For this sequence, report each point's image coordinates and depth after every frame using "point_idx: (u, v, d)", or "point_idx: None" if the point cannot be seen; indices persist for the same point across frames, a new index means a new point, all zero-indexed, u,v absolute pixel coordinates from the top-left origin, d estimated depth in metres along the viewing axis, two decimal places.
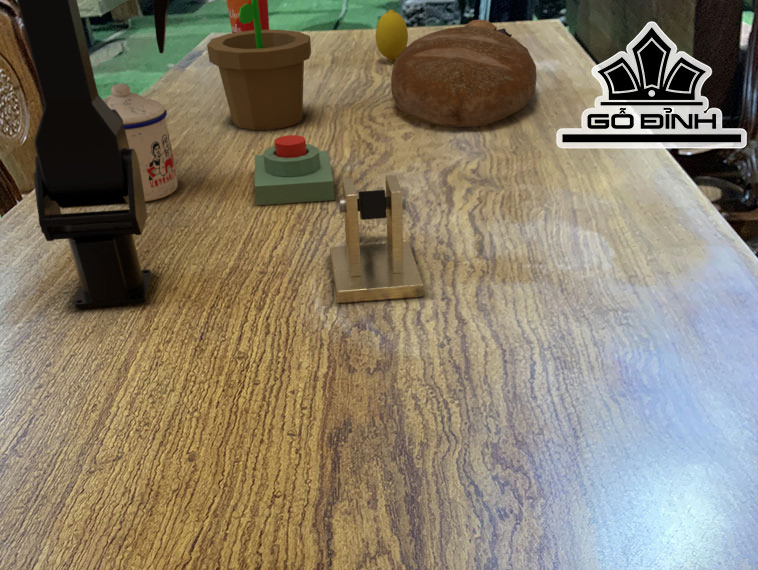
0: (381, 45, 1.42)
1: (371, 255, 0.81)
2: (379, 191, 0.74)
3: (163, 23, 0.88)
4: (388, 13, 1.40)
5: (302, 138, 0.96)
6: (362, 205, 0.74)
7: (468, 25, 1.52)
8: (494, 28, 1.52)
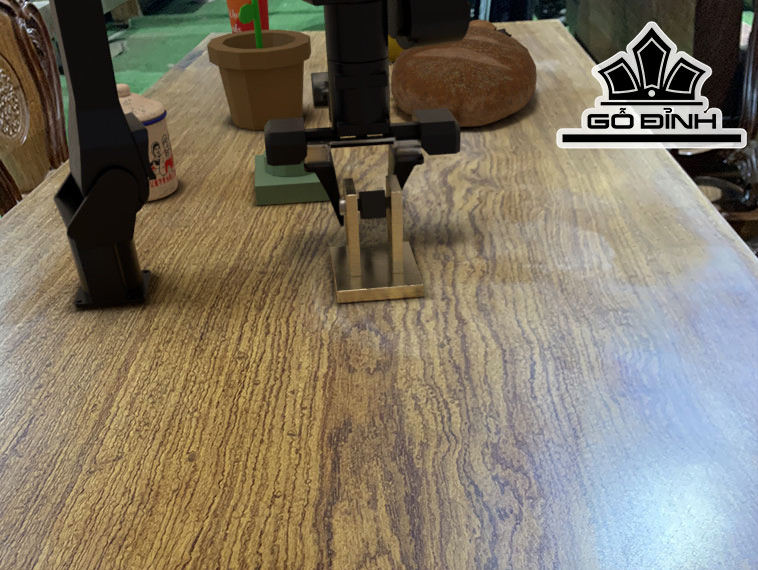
0: None
1: (371, 255, 0.81)
2: (379, 191, 0.74)
3: None
4: None
5: None
6: (362, 205, 0.74)
7: None
8: (494, 28, 1.52)
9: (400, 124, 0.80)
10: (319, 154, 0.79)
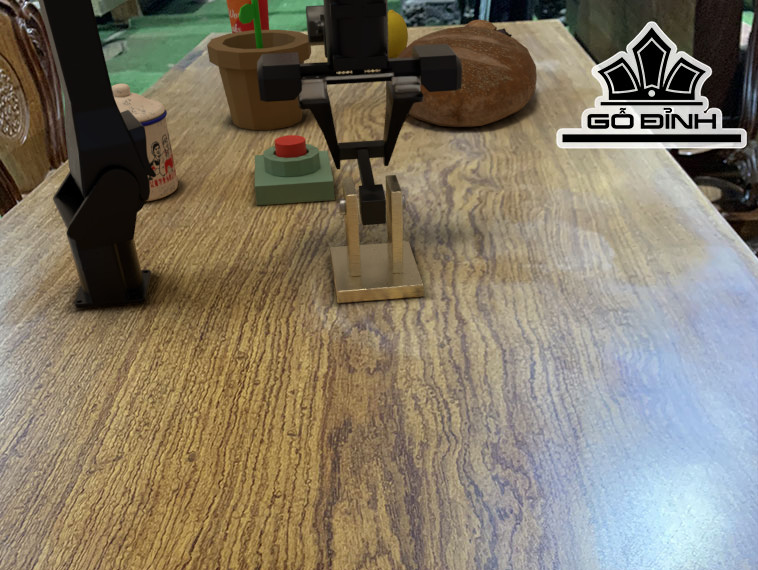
0: None
1: (371, 255, 0.81)
2: (380, 201, 0.74)
3: (396, 137, 0.80)
4: (388, 13, 1.40)
5: (302, 138, 0.96)
6: (362, 213, 0.75)
7: (468, 25, 1.52)
8: (494, 28, 1.52)
9: (399, 59, 0.77)
10: (314, 90, 0.76)
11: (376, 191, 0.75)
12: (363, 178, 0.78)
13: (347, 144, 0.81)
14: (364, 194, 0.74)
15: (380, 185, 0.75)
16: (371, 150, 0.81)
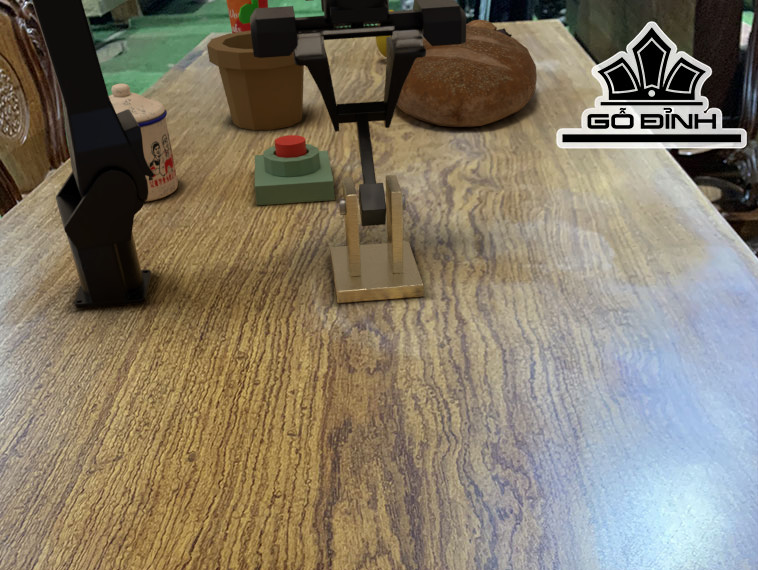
0: (381, 45, 1.42)
1: (371, 255, 0.81)
2: (381, 210, 0.74)
3: (398, 96, 0.76)
4: None
5: (302, 138, 0.96)
6: (362, 218, 0.75)
7: (468, 25, 1.52)
8: (494, 28, 1.52)
9: (400, 12, 0.73)
10: (311, 45, 0.72)
11: (377, 195, 0.74)
12: (363, 165, 0.76)
13: (347, 108, 0.77)
14: (365, 199, 0.74)
15: (381, 185, 0.75)
16: (371, 115, 0.78)
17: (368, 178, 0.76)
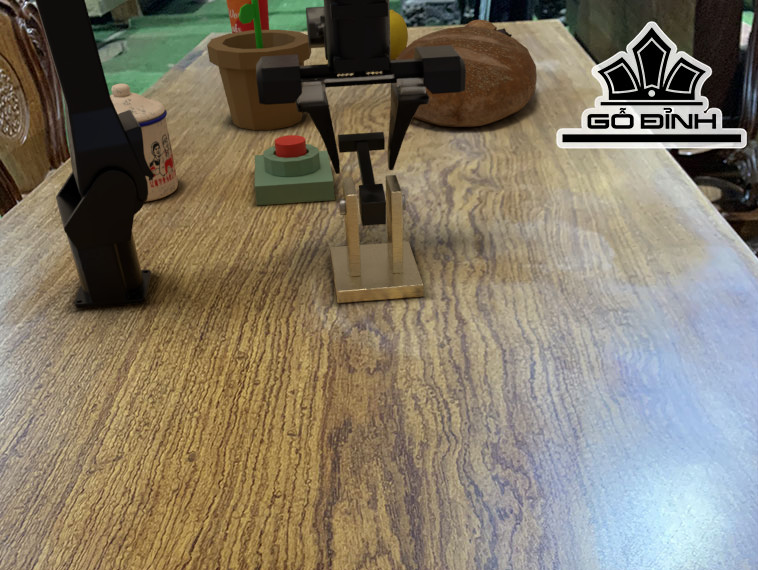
0: None
1: (371, 255, 0.81)
2: (380, 203, 0.74)
3: (401, 140, 0.78)
4: None
5: (302, 138, 0.96)
6: (362, 214, 0.75)
7: (468, 25, 1.52)
8: (494, 28, 1.52)
9: (401, 61, 0.75)
10: (313, 92, 0.74)
11: (376, 192, 0.75)
12: (363, 175, 0.77)
13: (347, 137, 0.81)
14: (364, 195, 0.74)
15: (380, 185, 0.75)
16: (371, 143, 0.81)
17: (368, 184, 0.76)
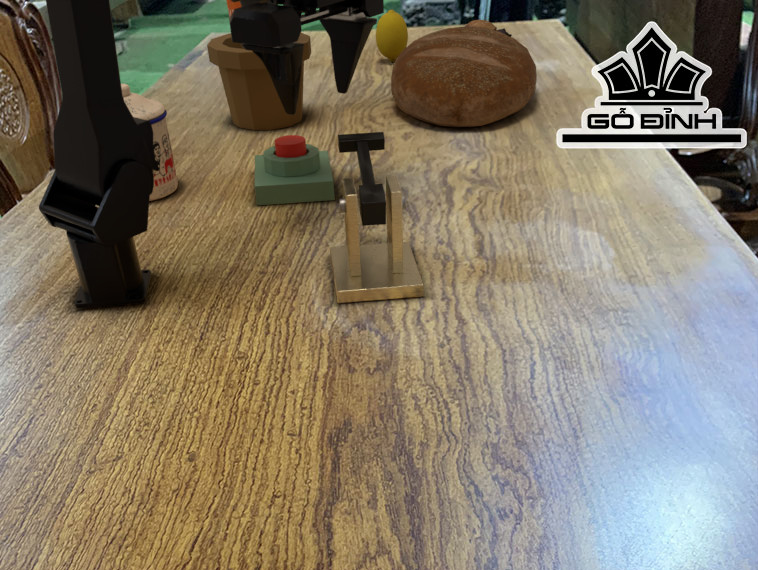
0: (381, 45, 1.42)
1: (371, 255, 0.81)
2: (380, 203, 0.74)
3: (357, 62, 0.90)
4: (388, 13, 1.40)
5: (302, 138, 0.96)
6: (362, 214, 0.75)
7: (468, 25, 1.52)
8: (494, 28, 1.52)
9: None
10: None
11: (376, 192, 0.75)
12: (363, 175, 0.77)
13: (347, 137, 0.81)
14: (364, 195, 0.74)
15: (380, 185, 0.75)
16: (371, 143, 0.81)
17: (368, 184, 0.76)
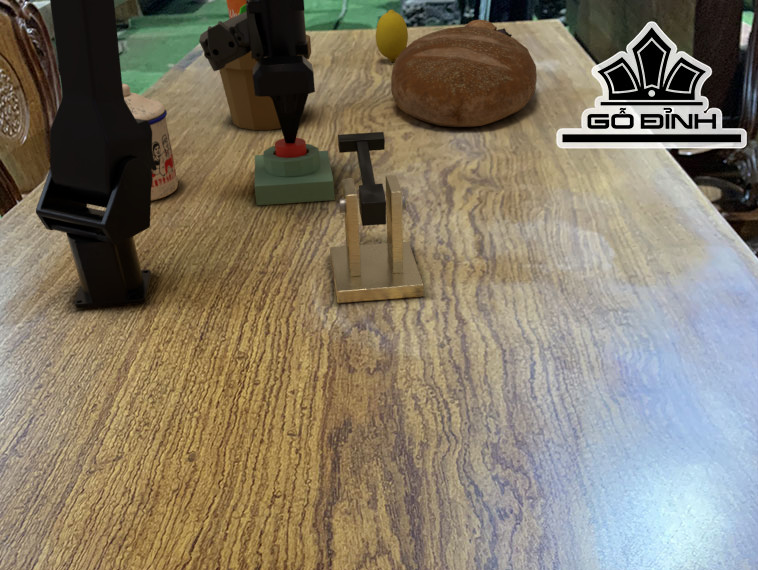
0: (381, 45, 1.42)
1: (371, 255, 0.81)
2: (380, 203, 0.74)
3: None
4: (388, 13, 1.40)
5: (302, 140, 0.97)
6: (362, 214, 0.75)
7: (468, 25, 1.52)
8: (494, 28, 1.52)
9: None
10: None
11: (376, 192, 0.75)
12: (363, 175, 0.77)
13: (347, 137, 0.81)
14: (364, 195, 0.74)
15: (380, 185, 0.75)
16: (371, 143, 0.81)
17: (368, 184, 0.76)
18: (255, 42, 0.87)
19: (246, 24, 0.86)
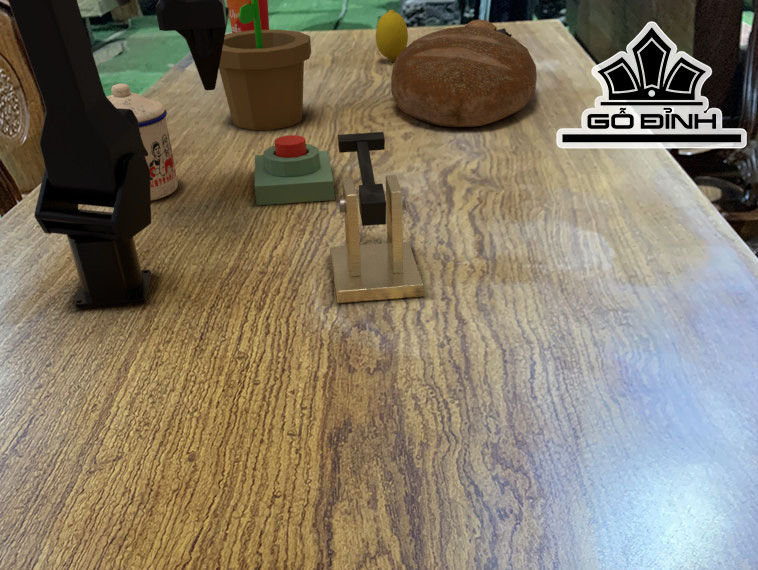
0: (381, 45, 1.42)
1: (371, 255, 0.81)
2: (380, 203, 0.74)
3: None
4: (388, 13, 1.40)
5: (302, 138, 0.96)
6: (362, 214, 0.75)
7: (468, 25, 1.52)
8: (494, 28, 1.52)
9: None
10: None
11: (376, 192, 0.75)
12: (363, 175, 0.77)
13: (347, 137, 0.81)
14: (364, 195, 0.74)
15: (380, 185, 0.75)
16: (371, 143, 0.81)
17: (368, 184, 0.76)
18: None
19: None
